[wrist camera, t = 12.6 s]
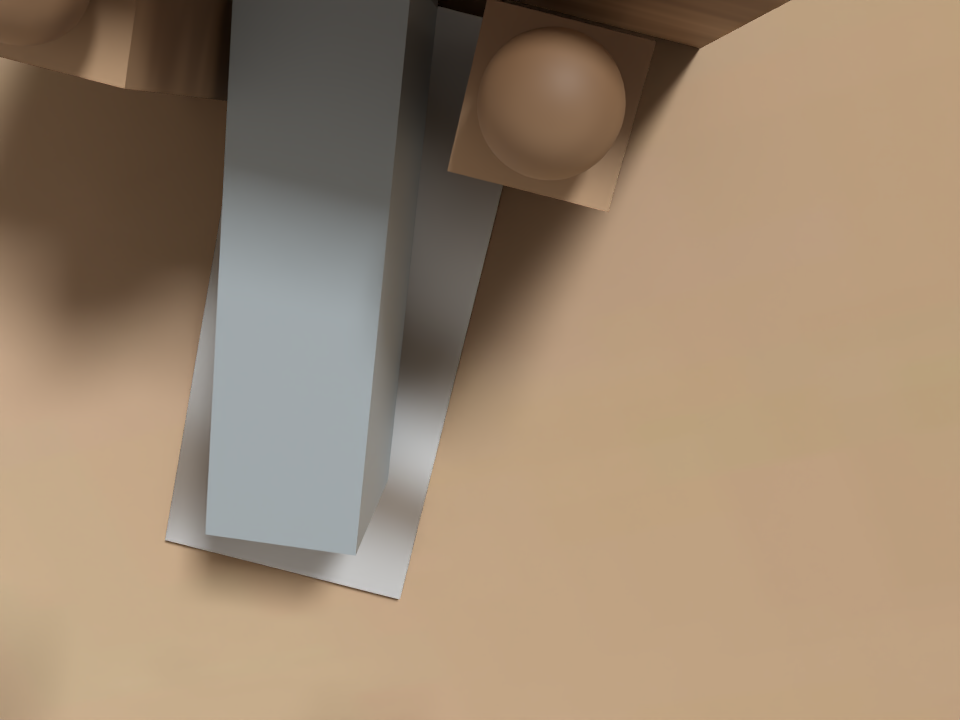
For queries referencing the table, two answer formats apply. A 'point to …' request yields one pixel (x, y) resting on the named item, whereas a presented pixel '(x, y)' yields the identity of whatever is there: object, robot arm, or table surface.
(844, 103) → the table surface
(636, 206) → the table surface
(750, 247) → the table surface
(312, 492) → the rail
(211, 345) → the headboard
